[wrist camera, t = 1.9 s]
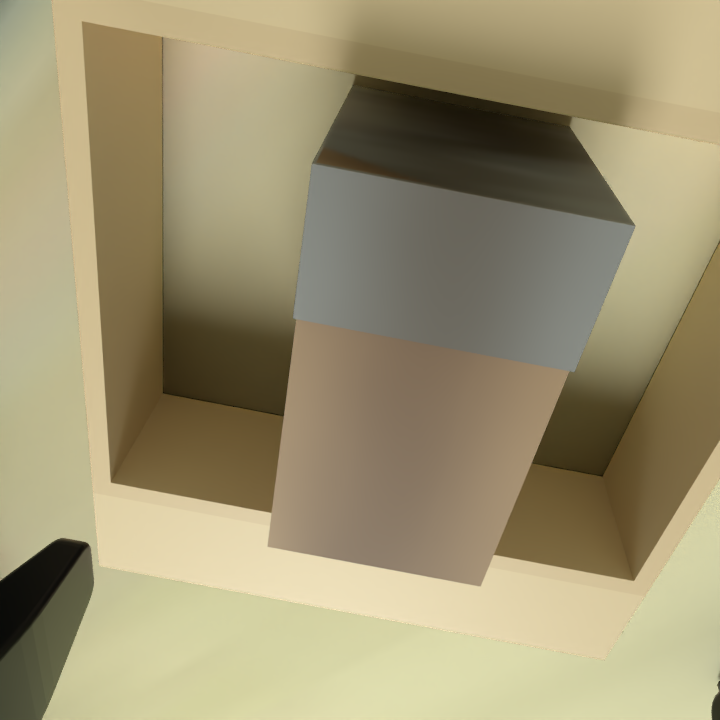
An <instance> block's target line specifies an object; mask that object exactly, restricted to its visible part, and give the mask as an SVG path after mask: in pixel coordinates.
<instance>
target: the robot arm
mask: <svg viewBox="0 0 720 720" xmlns="http://www.w3.org/2000/svg"><path fill="white" fill-rule="evenodd" d="M93 585H94V576H93V565H92V554H91V548H90V546H89V544H88V543H86V542H82V541H77V540H72V539H66V538H60V539H57V540H55V541H53V542H52V543H51V544H49V545H48V546H46V547H45V548H44V549H42V550H41V551H40V552H38V553H37V554H36V555H34V556H33V557H32V558H30V559H29V560H28V561H26V562H25V563H24V564H22V565H21V566H20V567H18V568H17V569H16V570H14V571H13V572H11V573H10V574H9V575H7V576H6V577H5V578H3V579H2V580H1V581H0V720H42V718H43V715H44V713H45V711H46V709H47V707H48V705H49V702H50V700H51V697H52V695H53V693H54V690H55V688H56V685H57V682H58V680H59V677H60V675H61V672H62V670H63V667H64V665H65V662H66V659H67V657H68V654H69V652H70V649H71V647H72V644H73V641H74V639H75V636H76V634H77V631H78V629H79V626H80V624H81V621H82V618H83V616H84V613H85V611H86V608H87V606H88V603H89V600H90V598H91V595H92V591H93ZM717 686H718V689H719V692H718V693H717V695H716V696H715V698H714V700H713V703H712V720H720V681H719V682H718V684H717Z"/></svg>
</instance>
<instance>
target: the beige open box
mask: <svg viewBox="0 0 720 720" xmlns="http://www.w3.org/2000/svg"><path fill="white" fill-rule="evenodd" d="M52 12H53V23H54V35H55V47H56V59H57V71H58V83H59V95H60V107H61V119H62V130H63V142H64V154H65V166H66V178H67V190H68V202H69V214H70V225H71V237H72V249H73V261H74V273H75V285H76V297H77V309H78V320H79V332H80V344H81V356H82V368H83V380H84V392H85V404H86V415H87V427H88V439H89V451H90V463H91V475H92V487H93V499H94V511H95V522H96V534H97V546H98V558H99V566H102V567H107V568H113V569H118V570H123V571H129V572H134V573H139V574H145V575H150V576H155V577H161V578H166V579H171V580H177V581H182V582H187V583H193V584H198V585H204V586H209V587H214V588H220V589H225V590H230V591H236V592H241V593H246V594H252V595H257V596H262V597H268V598H273V599H278V600H284V601H289V602H294V603H300V604H305V605H311V606H316V607H321V608H327V609H332V610H337V611H343V612H348V613H353V614H359V615H364V616H369V617H375V618H380V619H385V620H391V621H396V622H402V623H407V624H412V625H418V626H423V627H428V628H434V629H439V630H444V631H450V632H455V633H460V634H466V635H471V636H476V637H482V638H487V639H492V640H498V641H503V642H509V643H514V644H519V645H525V646H530V647H535V648H541V649H546V650H551V651H557V652H562V653H567V654H573V655H578V656H583V657H589V658H594V659H599V660H605V659H606V657H607V655H608V654H609V652H610V651H611V649H612V648H613V646H614V644H615V643H616V641H617V640H618V638H619V637H620V635H621V633H622V632H623V630H624V629H625V627H626V626H627V624H628V622H629V621H630V619H631V618H632V616H633V615H634V613H635V611H636V610H637V608H638V607H639V605H640V604H641V602H642V600H643V599H644V597H645V596H646V594H647V593H648V591H649V589H650V588H651V586H652V585H653V583H654V582H655V580H656V578H657V577H658V575H659V574H660V572H661V571H662V569H663V567H664V566H665V564H666V563H667V561H668V560H669V558H670V556H671V555H672V553H673V552H674V550H675V549H676V547H677V545H678V544H679V542H680V541H681V539H682V538H683V536H684V534H685V533H686V531H687V530H688V528H689V527H690V525H691V523H692V522H693V520H694V519H695V517H696V516H697V514H698V512H699V511H700V509H701V508H702V506H703V505H704V503H705V501H706V500H707V498H708V497H709V495H710V494H711V492H712V490H713V489H714V487H715V486H716V484H717V482H718V481H719V479H720V243H719V245H718V247H717V249H716V251H715V253H714V255H713V257H712V259H711V261H710V263H709V265H708V267H707V269H706V271H705V273H704V275H703V277H702V279H701V281H700V283H699V285H698V287H697V289H696V291H695V293H694V295H693V297H692V299H691V301H690V303H689V305H688V307H687V309H686V311H685V313H684V315H683V317H682V319H681V321H680V323H679V325H678V327H677V329H676V331H675V333H674V335H673V337H672V339H671V341H670V343H669V345H668V347H667V349H666V351H665V353H664V355H663V357H662V359H661V361H660V363H659V365H658V367H657V369H656V371H655V373H654V375H653V377H652V379H651V381H650V383H649V385H648V387H647V389H646V391H645V393H644V395H643V397H642V399H641V401H640V403H639V405H638V407H637V409H636V411H635V413H634V415H633V417H632V419H631V421H630V423H629V425H628V427H627V429H626V431H625V433H624V435H623V437H622V439H621V441H620V443H619V445H618V447H617V449H616V451H615V453H614V455H613V457H612V459H611V461H610V463H609V465H608V467H607V469H606V471H605V473H604V475H603V477H601V476H596V475H591V474H585V473H580V472H575V471H569V470H564V469H559V468H554V467H548V466H543V465H538V464H533V463H531V466H530V468H529V471H528V473H527V476H526V478H525V480H524V483H523V485H522V488H521V490H520V492H519V495H518V497H517V500H516V502H515V505H514V507H513V509H512V512H511V514H510V517H509V519H508V522H507V524H506V526H505V529H504V531H503V534H502V536H501V538H500V541H499V543H498V546H497V548H496V551H495V553H494V555H493V558H492V560H491V563H490V565H489V568H488V570H487V572H486V575H485V577H484V580H483V582H482V584H481V587H480V586H474V585H469V584H464V583H458V582H453V581H448V580H442V579H437V578H432V577H426V576H421V575H416V574H410V573H405V572H400V571H394V570H389V569H383V568H378V567H373V566H367V565H362V564H357V563H351V562H346V561H341V560H335V559H330V558H325V557H319V556H314V555H309V554H303V553H298V552H293V551H287V550H282V549H277V548H271V547H267V546H268V538H269V530H270V522H271V514H272V506H273V498H274V490H275V482H276V475H277V467H278V459H279V451H280V443H281V435H282V427H283V419H284V416H279V415H274V414H269V413H263V412H258V411H253V410H247V409H242V408H237V407H232V406H226V405H221V404H216V403H210V402H205V401H200V400H195V399H189V398H184V397H179V396H174V395H168V394H163V186H162V37H166V38H171V39H176V40H181V41H187V42H192V43H197V44H202V45H207V46H212V47H218V48H223V49H228V50H233V51H238V52H243V53H248V54H254V55H259V56H264V57H269V58H274V59H279V60H284V61H290V62H295V63H300V64H305V65H310V66H315V67H320V68H326V69H331V70H336V71H341V72H346V73H351V74H356V75H362V76H367V77H372V78H377V79H382V80H387V81H393V82H398V83H403V84H408V85H413V86H418V87H423V88H429V89H434V90H439V91H444V92H449V93H454V94H459V95H465V96H470V97H475V98H480V99H485V100H490V101H495V102H501V103H506V104H511V105H516V106H521V107H526V108H531V109H537V110H542V111H547V112H552V113H557V114H562V115H567V116H573V117H578V118H583V119H588V120H593V121H598V122H604V123H609V124H614V125H619V126H624V127H629V128H634V129H640V130H645V131H650V132H655V133H660V134H665V135H670V136H676V137H681V138H686V139H691V140H696V141H701V142H706V143H712V144H717V145H720V0H52Z"/></svg>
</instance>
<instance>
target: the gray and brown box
mask: <svg viewBox="0 0 720 720" xmlns="http://www.w3.org/2000/svg"><path fill="white" fill-rule="evenodd" d="M634 229H635V225H634V223H633V222H632V220H631V219H630V217H629V216H628V214H627V213H626V211H625V210H624V208H623V207H622V205H621V204H620V202H619V201H618V199H617V197H616V196H615V194H614V193H613V191H612V190H611V188H610V187H609V185H608V184H607V182H606V181H605V179H604V178H603V176H602V175H601V173H600V172H599V170H598V169H597V167H596V166H595V164H594V163H593V161H592V160H591V158H590V157H589V155H588V154H587V152H586V151H585V149H584V148H583V146H582V145H581V143H580V142H579V140H578V139H577V137H576V136H575V134H574V133H573V131H572V130H571V128H570V127H567V126H562V125H557V124H551V123H546V122H541V121H536V120H531V119H526V118H521V117H515V116H510V115H505V114H500V113H495V112H490V111H485V110H479V109H474V108H469V107H464V106H459V105H454V104H448V103H443V102H438V101H433V100H428V99H423V98H418V97H412V96H407V95H402V94H397V93H392V92H387V91H381V90H376V89H371V88H366V87H361V86H356V85H353V86H352V88H351V90H350V92H349V94H348V96H347V98H346V99H345V101H344V103H343V105H342V107H341V109H340V111H339V113H338V115H337V117H336V119H335V121H334V122H333V124H332V126H331V128H330V130H329V132H328V134H327V136H326V138H325V140H324V142H323V144H322V145H321V147H320V149H319V151H318V153H317V155H316V157H315V159H314V161H313V163H312V167H311V175H310V183H309V191H308V200H307V208H306V216H305V224H304V232H303V240H302V248H301V256H300V264H299V272H298V281H297V289H296V297H295V305H294V313H293V319H296V325H295V333H294V341H293V348H292V356H291V364H290V372H289V380H288V388H287V396H286V404H285V411H284V419H283V427H282V435H281V443H280V451H279V459H278V467H277V475H276V482H275V490H274V498H273V506H272V514H271V522H270V530H269V538H268V546H267V547H271V548H277V549H282V550H287V551H293V552H298V553H303V554H309V555H314V556H319V557H325V558H330V559H335V560H341V561H346V562H351V563H357V564H362V565H367V566H373V567H378V568H383V569H389V570H394V571H400V572H405V573H410V574H416V575H421V576H426V577H432V578H437V579H442V580H448V581H453V582H458V583H464V584H469V585H474V586H480V587H481V584H482V582H483V580H484V577H485V575H486V572H487V570H488V568H489V565H490V563H491V560H492V558H493V555H494V553H495V551H496V548H497V546H498V543H499V541H500V538H501V536H502V534H503V531H504V529H505V526H506V524H507V522H508V519H509V517H510V514H511V512H512V509H513V507H514V505H515V502H516V500H517V497H518V495H519V492H520V490H521V488H522V485H523V483H524V480H525V478H526V476H527V473H528V471H529V468H530V466H531V463H532V461H533V459H534V456H535V454H536V451H537V449H538V446H539V444H540V442H541V439H542V437H543V434H544V432H545V430H546V427H547V425H548V422H549V420H550V417H551V415H552V413H553V410H554V408H555V405H556V403H557V400H558V398H559V396H560V393H561V391H562V388H563V386H564V384H565V381H566V379H567V376H568V374H569V371H571V372H575V370H576V367H577V365H578V362H579V360H580V358H581V355H582V353H583V350H584V348H585V346H586V343H587V341H588V338H589V336H590V334H591V331H592V329H593V327H594V324H595V322H596V319H597V317H598V315H599V312H600V310H601V307H602V305H603V303H604V300H605V298H606V295H607V293H608V291H609V288H610V286H611V284H612V281H613V279H614V276H615V274H616V272H617V269H618V267H619V264H620V262H621V260H622V257H623V255H624V252H625V250H626V248H627V245H628V243H629V240H630V238H631V236H632V233H633V231H634Z"/></svg>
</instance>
